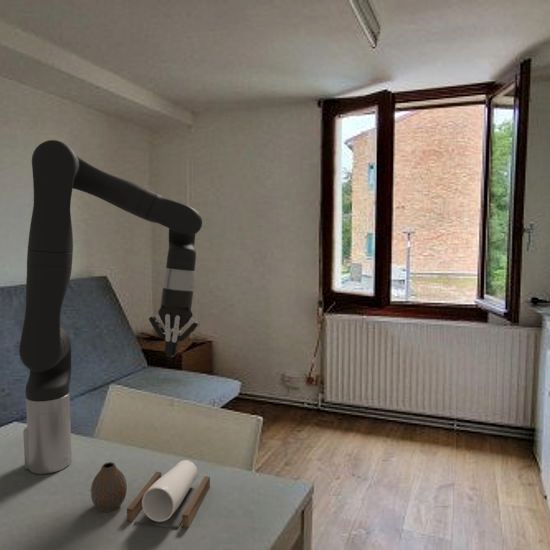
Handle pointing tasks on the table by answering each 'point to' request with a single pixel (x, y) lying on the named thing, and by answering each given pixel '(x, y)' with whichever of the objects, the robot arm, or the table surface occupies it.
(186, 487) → the white cup
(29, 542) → the table surface
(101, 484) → the vase
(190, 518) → the cradle
